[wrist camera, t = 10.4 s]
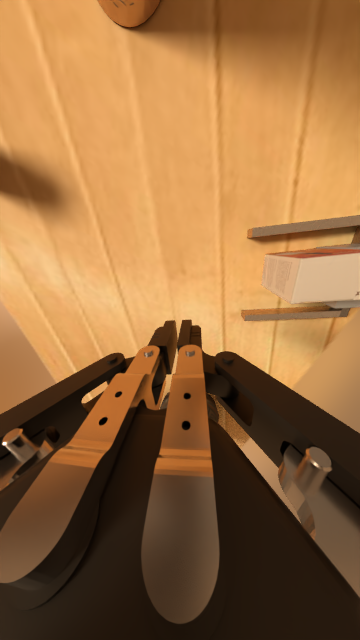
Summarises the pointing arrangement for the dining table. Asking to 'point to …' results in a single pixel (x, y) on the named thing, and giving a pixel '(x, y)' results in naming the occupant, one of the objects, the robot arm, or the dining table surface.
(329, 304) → the block
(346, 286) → the small box
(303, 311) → the rail
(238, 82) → the dining table surface
